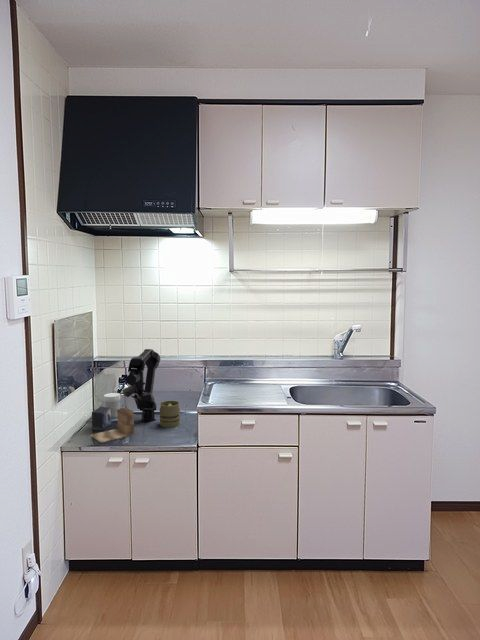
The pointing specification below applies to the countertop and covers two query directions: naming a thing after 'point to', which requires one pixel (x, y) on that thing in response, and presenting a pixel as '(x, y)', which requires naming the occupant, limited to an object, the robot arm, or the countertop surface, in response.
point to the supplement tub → (113, 404)
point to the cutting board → (108, 435)
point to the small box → (101, 418)
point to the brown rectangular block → (125, 421)
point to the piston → (169, 414)
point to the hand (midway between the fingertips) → (138, 408)
